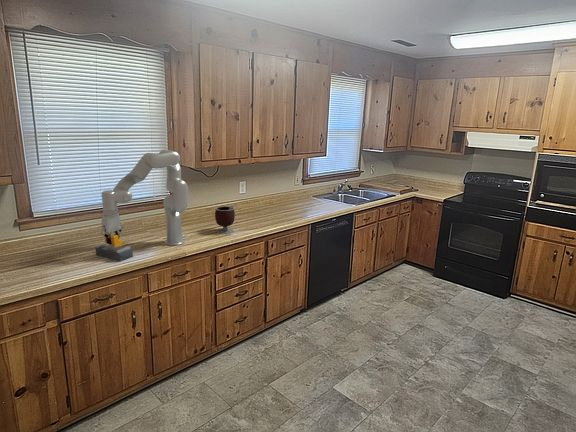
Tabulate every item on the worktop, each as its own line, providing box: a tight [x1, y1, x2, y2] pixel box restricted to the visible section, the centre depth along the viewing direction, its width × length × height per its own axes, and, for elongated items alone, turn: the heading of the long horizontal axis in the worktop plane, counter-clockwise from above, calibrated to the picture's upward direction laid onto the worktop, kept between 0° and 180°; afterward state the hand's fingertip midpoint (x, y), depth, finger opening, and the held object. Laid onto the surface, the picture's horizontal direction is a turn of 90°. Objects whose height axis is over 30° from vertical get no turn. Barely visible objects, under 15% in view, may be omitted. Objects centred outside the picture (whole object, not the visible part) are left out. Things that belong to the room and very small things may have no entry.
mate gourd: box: [214, 203, 237, 235], centre depth 279 cm, size 16×14×20 cm
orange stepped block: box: [104, 232, 123, 247], centre depth 226 cm, size 12×4×6 cm, turn 49°
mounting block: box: [94, 242, 134, 263], centre depth 228 cm, size 9×20×6 cm, turn 64°
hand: (113, 242), depth 227 cm, fingers closed on orange stepped block, 4 cm apart
